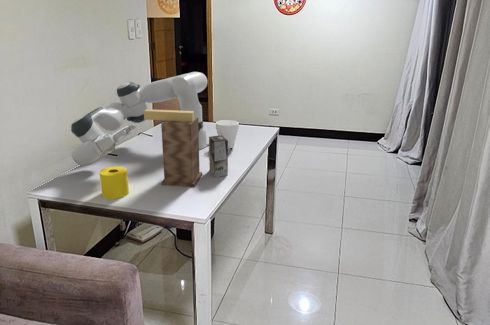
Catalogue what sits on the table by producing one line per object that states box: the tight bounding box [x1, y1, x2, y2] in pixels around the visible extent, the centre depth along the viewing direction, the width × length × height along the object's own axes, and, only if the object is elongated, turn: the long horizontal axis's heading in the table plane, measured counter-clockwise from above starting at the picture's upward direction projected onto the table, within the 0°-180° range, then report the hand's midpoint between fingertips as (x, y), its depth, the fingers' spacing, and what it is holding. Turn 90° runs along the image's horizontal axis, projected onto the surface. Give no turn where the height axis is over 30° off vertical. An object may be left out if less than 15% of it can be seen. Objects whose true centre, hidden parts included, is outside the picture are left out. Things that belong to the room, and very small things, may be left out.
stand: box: [160, 117, 203, 188], centre depth 168 cm, size 14×14×26 cm
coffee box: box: [208, 135, 229, 178], centre depth 177 cm, size 9×6×16 cm
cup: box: [215, 119, 240, 150], centre depth 214 cm, size 12×12×14 cm
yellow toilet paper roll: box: [99, 166, 130, 200], centre depth 156 cm, size 10×10×9 cm
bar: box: [144, 108, 195, 122], centre depth 163 cm, size 20×4×4 cm, turn 83°
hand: (130, 128), depth 167 cm, fingers open, 8 cm apart
